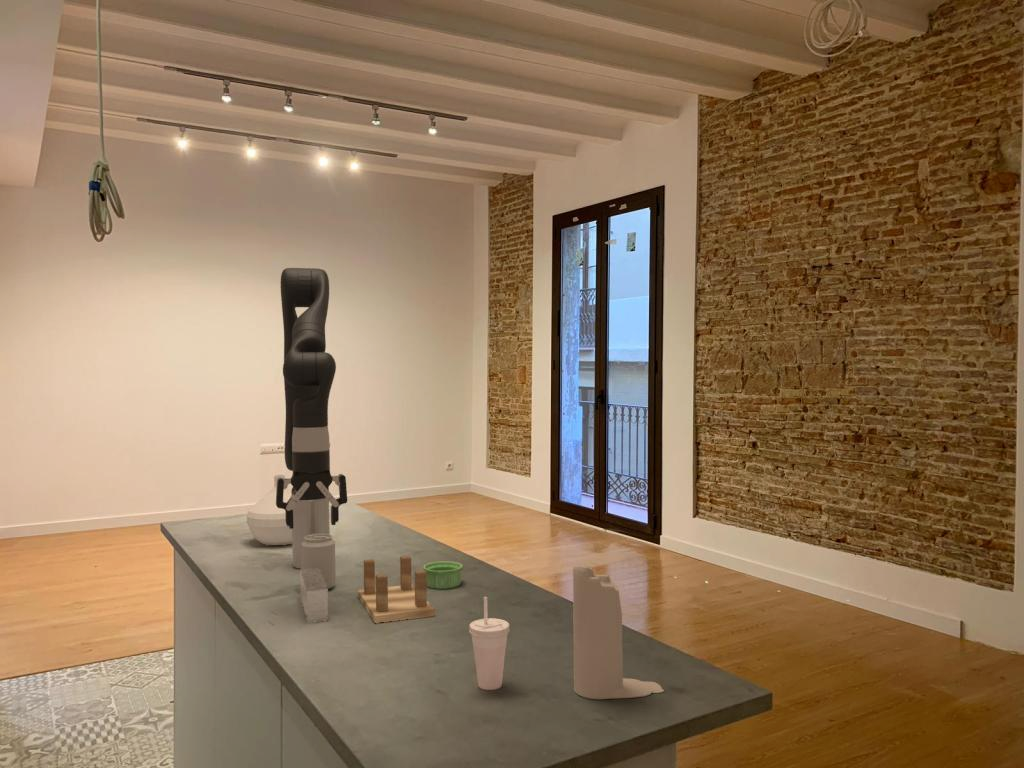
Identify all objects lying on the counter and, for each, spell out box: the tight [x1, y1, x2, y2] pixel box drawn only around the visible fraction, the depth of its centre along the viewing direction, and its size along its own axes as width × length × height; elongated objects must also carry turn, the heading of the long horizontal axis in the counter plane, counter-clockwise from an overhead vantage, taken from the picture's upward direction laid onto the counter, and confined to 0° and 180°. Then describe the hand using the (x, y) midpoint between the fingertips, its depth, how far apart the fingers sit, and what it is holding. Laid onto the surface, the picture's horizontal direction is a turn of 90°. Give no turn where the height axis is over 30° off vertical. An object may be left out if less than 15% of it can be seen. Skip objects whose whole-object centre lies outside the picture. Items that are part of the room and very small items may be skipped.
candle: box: [572, 563, 665, 700], centre depth 124 cm, size 7×14×20 cm, turn 95°
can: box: [301, 534, 337, 590], centre depth 181 cm, size 8×8×12 cm
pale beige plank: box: [299, 568, 329, 623], centre depth 166 cm, size 18×4×6 cm, turn 19°
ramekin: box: [422, 560, 464, 590], centre depth 183 cm, size 9×9×4 cm
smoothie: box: [469, 596, 510, 691], centre depth 126 cm, size 6×6×14 cm
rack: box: [357, 555, 435, 624], centre depth 167 cm, size 19×12×8 cm, turn 21°
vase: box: [246, 474, 292, 546], centre depth 228 cm, size 18×18×19 cm
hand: (312, 526), depth 165 cm, fingers open, 8 cm apart
